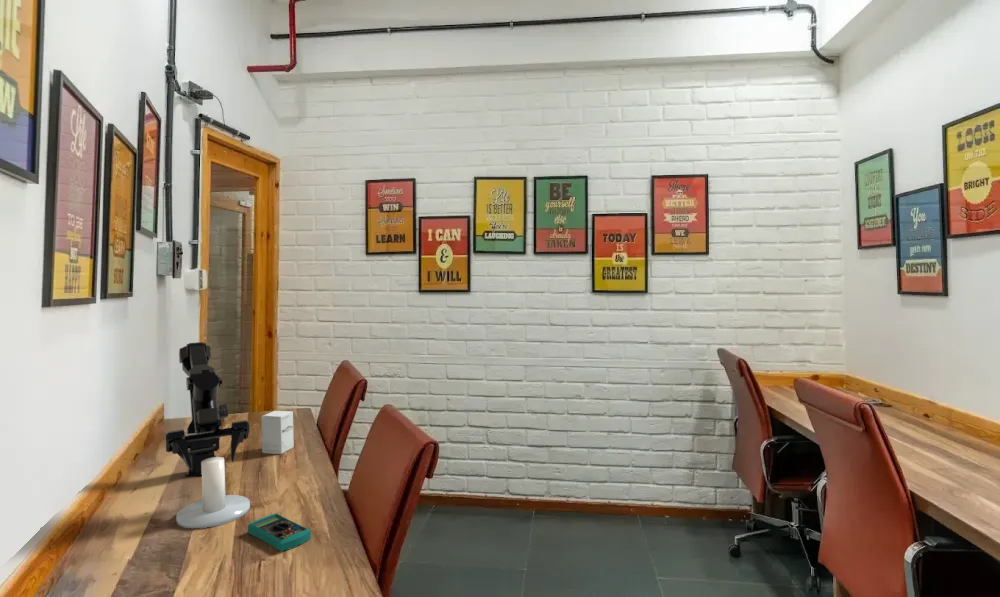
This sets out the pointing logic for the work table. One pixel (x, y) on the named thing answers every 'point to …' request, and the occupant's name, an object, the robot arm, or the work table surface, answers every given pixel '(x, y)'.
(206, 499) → the white cylindrical post
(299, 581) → the work table surface
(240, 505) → the plate
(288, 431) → the supplement box
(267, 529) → the digital multimeter
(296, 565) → the work table surface
